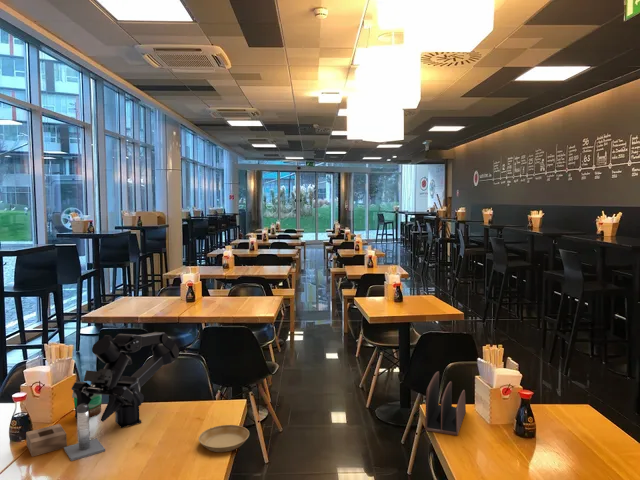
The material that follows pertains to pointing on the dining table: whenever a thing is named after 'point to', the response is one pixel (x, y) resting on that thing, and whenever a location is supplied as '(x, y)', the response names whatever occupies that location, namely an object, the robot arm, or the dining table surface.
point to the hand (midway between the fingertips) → (88, 419)
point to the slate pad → (76, 454)
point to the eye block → (46, 439)
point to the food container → (91, 404)
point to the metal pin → (83, 426)
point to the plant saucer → (224, 438)
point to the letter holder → (443, 409)
